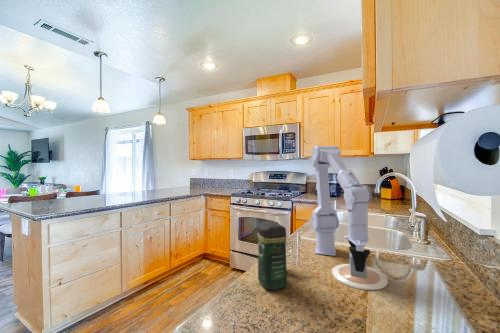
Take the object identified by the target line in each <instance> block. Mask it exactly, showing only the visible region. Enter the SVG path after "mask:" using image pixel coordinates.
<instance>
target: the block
mask: <svg viewBox="0 0 500 333" xmlns="http://www.w3.org/2000/svg"><path fill="white" fill-rule="evenodd" d="M349 264H350V274H351V276H358V277H365V278H367V267H368V265H367V262H366V263H365V268H364V272H358V271H356V270H355V265H354V260H353V256H352V254H351V252H350V251H349Z"/></svg>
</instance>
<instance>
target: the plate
mask: <svg viewBox="0 0 500 333" xmlns="http://www.w3.org/2000/svg"><path fill="white" fill-rule="evenodd" d="M331 274H332V276H333V278H334V279H335V280H336V281H337V282H339V283H341V284H342V285H344V286H347V287H350V288H353V289H357V290H364V291H378V290H382V289H385V288H386V287H387V286H388V283H389V280H388V277H387V276H386V275H385V274H384V273H382V272H381V271H380V270H377V269H375V268H372V267H371V266H367V278H365V277H358V276H351V274H350V263H343V264H337V265H335V266H334V267H332V270H331Z"/></svg>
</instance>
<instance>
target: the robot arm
mask: <svg viewBox="0 0 500 333" xmlns="http://www.w3.org/2000/svg"><path fill="white" fill-rule="evenodd" d="M311 164H312V167H314V168H315V182H316V194H317V195H316V196H317V207H315V209H313V211H311V220H310V221H311V226H312V228H313V229H314V230H315V240H316V246H315V250H314V254H315V255H325V256H326V255H327V256H333V257H334V256H335V257H336V255H337V254H336V252H337V251H336V250H337V249H336V248H337V247H336V245H335V243H336V242H335V232H337V229H338V228H339V226H340V220H339V217H338V211H337V210H336V209H334V208H333V207H332V206H331V194H330V183H329V182H330V181H329V168H330V167H332V169H333V170H334V172H336V174H337V175H336V180H337V182H338V184H339V185H340V187H341V188H342V190H343V198H344V202H345V208H346V209H347V235H344V240H347V241H348V243H349V246H348V250H349V253H350V252H351V254H352V256H353V260H354V265H355V270H356V271H358V272H364V268H365V263H366V264H367V259H368V257H369V256H370V254H371V250H370V249H367V248H366V249H365V246H366V244H368V243H369V241H370V239H369V230H368V229H369V228H368V227H369V226H368V225H369V224H368V220H369V219H368V204H369V203H371V201H372V197H373V196H372V191H371V189H370V187H369V186H367V185H364V183H361V182H360V181H359V180H358V178H357V176H356V175H355V173H354V172H353V170H351V169H347V168H346V165H345V164H344V162H343V159H342V158H341V149H340V148H339V147H338V146H337V145H314V146H313V148H312V150H311Z"/></svg>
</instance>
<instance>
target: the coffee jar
mask: <svg viewBox="0 0 500 333" xmlns="http://www.w3.org/2000/svg"><path fill="white" fill-rule="evenodd" d="M257 242H258V243H257V247H258V248H257V252H258V254H257V257H258V258H257V260H258V261H257V264H258V265H257V279H258V282H259V283H260V284H261V286H262V287H263V288H264V289H266V290H270V291H271V290H272V291H279V290H281V289H283V288H286V287H287V286H288V275H287V274H288V273H287V272H288V271H287V247H286V246H287V228H286V227H285V226H283V225H282V224H280V223H278V222H275V221H273V220H262V221H261V222H259V224H258V225H257Z"/></svg>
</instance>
